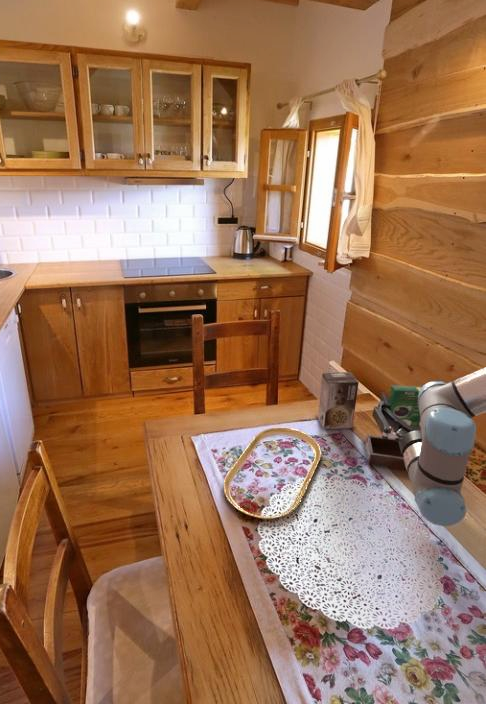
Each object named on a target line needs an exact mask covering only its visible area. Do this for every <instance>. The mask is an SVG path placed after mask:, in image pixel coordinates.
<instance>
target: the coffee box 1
mask: <svg viewBox="0 0 486 704" xmlns="http://www.w3.org/2000/svg"><path fill="white" fill-rule="evenodd" d="M359 383H360V382H359V381H358V380H357V378H356V377H355V375H354V374H353V372H351V371H347V372H346V371H345V372H344V371H343V372H322V375H321V383H320V393H319V401H318V412H317V419H318V421H319V423H320V425H321V427H322V429H324V430H331V429H332V430H333V429H353V427H354V419H355V411H356V405H357V396H358V391H359V390H358V389H359Z"/></svg>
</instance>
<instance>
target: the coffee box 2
mask: <svg viewBox="0 0 486 704" xmlns="http://www.w3.org/2000/svg"><path fill="white" fill-rule="evenodd" d="M422 387H423V386H417V385H416V386H415V385H394V384H391V385H390V390H389V394H388V398H387V400H388V403H389V410H390V411H391V412H392V413H393V414H394V415H395V416H396V417H398V418H399V419H400V420H401V421H404V422H405V423H406V424H407V425H410V426H419V427H420V413H419V409H418V404H417V403H418V394H419V391H420V389H421V388H422ZM389 427H391V426H390V425H389ZM392 430H393V432H395V430H394V429H393V428H392ZM395 433H396V432H395Z"/></svg>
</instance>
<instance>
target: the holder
mask: <svg viewBox="0 0 486 704" xmlns="http://www.w3.org/2000/svg"><path fill="white" fill-rule="evenodd" d="M364 446H365V451H366V454H367V455H366V457H367V462H368V465H372V466H378V467H384V468H385V467H386V468H392V469H397V470H403V471H404V470H405V471H407V469H406V466H405V463H404V459H403V457H402V453H401V450H400V447H399V443H398V442H397V441H396V440H395V438H390V437H388V439H387V440H385V439H383V438H382V436H379V435H372V434H366V438H365V443H364Z"/></svg>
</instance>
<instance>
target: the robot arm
mask: <svg viewBox="0 0 486 704" xmlns="http://www.w3.org/2000/svg"><path fill="white" fill-rule="evenodd" d="M421 387H422V388H421V389H420V391H419V394H418V403H417V404H418V409H419V413H420V423H419V426H410V425H407V424H406V423H405V422H404V421H401V420H400V419H399V418H398V417H396V416H395V415H394V414H393V413H392V412H391V411H390V410H389V403H388V398H387V394H386V392H385V391H381V396H380V400H378V405H375V406H373V411H372V417H373V419H374V421H375V423H376V425H377V427H378V429H379V431H380V432H381V437H382V438H383V439H385V440H387V439H388V438H394V439H395V440H396V441H397V442H398V443H399V447H400V450H401V453H402V457H403V459H404V463H405V466H406V469H407V470H406V473H407V476H408V479H409V482H410V485H411V489H412V492H413V496H414V502H415V503H416V505H417V507H418V510H419V512H420V514H421V516H422V518H424V519H425V520H426V521H427V522H428V523H430V524H432V525H436V526H440V527H441V526H442V527H451V526H454V525H456V524H459V523H460V522H462V520H464V518H465V516H466V514H467V507H466V502H465V497H464V496H463V495H462V493H461V491H462V487H463V483H464V480H465V475H466V471H467V467H468V464H469V461H470V458H471V454H472V452H473V449H474V446H475V444H476V433H477V425H476V423H475V421H474V420H473V419H472V418H474V417H477V416H479V415H482V414H485V413H486V367H483V368H481V369H479V370H476V371H474V372H471V373H469V374H466V375H465V376H462V377H459V378H458V379H456V380H455V379H454V380H453V381H450V382H448V383H447V382H445V381H439V380H438V381H436V380H435V381H433V380H432V381H429V382H427V383H425V384H423V385H422V386H421ZM389 425H390V426H391V427H389ZM392 428H393V429H394V430H395V432H396V433H395V432H393V430H392Z"/></svg>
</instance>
